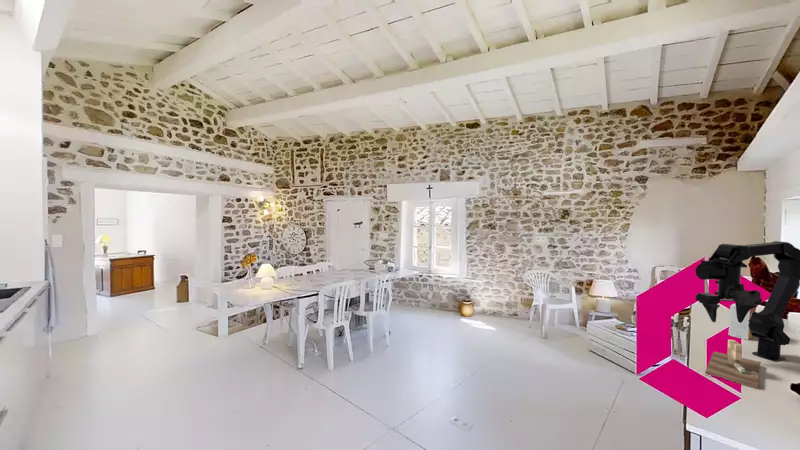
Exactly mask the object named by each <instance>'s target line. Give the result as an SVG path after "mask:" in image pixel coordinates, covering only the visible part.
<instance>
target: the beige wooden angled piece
mask: <svg viewBox="0 0 800 450" xmlns="http://www.w3.org/2000/svg"><path fill="white" fill-rule="evenodd" d="M726 354H727V355H728V366H731V367H734V368H737V369H738V370H739V371H741V372H745V369H744V368H743V367H742V366H740V361H741V359H742V358H743V357H742V355H743V345H742V344H741V343H739V342H738V341H736V339H735V340H734V339H727V353H726Z"/></svg>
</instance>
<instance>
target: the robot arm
mask: <svg viewBox="0 0 800 450" xmlns="http://www.w3.org/2000/svg"><path fill="white" fill-rule="evenodd" d="M769 255H770V256H771V255H773V258H774V259H775V260H777V261H778V264H777V269H778V271H779V276H778V278H777V280H776V282H775V285H774V287H772V288H773V289H772V291H771V293H770V295H769V297H768V299H767V301H766V303H765V305H764V308H762V310H761V311H759V312H756V311H755V312H753V313H752V316H751V318H750V319H749V320H748V321H749V325H748V327H749V328H750V331H751V334H752V336H753V337H755V338H758V339H757V351H754V352H751V354H752V355H754V356H757V357H761V358H764V359H766V360H770V361H773V362H777V361H782V360H786V357H785V356H781V349H782V348H781V347H782V346H786V345H789V344H790V341H791V337H790V336H788V335H787V334H786V333H785V331H784V330H785V323H784V319H783V315H784V313H785V311H786V309H787V307H788V305H789V303H790V301H791V299H792V297H793V295H794V293H795V291H796V289H797V286H798V284H799V282H800V249H799V248H797V247H795V246H794V245H793V244H792V243H790V242H788V241H777V240H775V241H771V242H761V243H752V244H733V243H731V244H729V243H721V244H719V245H718V247H717V248H716V250H714V252H713V253H712V254H711V256H710V257H709V258H708V260H700V263H698V264H697V266H696V268H695V271H694V272H695V275H696V277H697V278H698V279H700V280H703V281H704V280H706V281H707V280H709V281H710V280H712V281H713V280H715V281H714V284H717V291H714V294H712V293H709V292H698V293H696V295H695V301H697V302H698V303H699V304H702V306H703V307H704V309H705V311H706V313H707V314H708V316H709V318H710V321H711V322H713V323H716V322H717V315H718V314H717V313H718V309H719V308H720V307H721V304H720V302H734V304H735V305H736V313H737V319H738V322H740V323H742V322H743V320H744V318H745V316H746V315H747V313H748V312H749V310H750V309H752V308H754V307H756V308H757V307H759V306H762V305H763V304H762V303H763V302H762V301H763V299H762V297H761V292H760V291H759V290H747V289H745V285H744V284H743V283H741V273H742V272H741V271H742V268H747V267H748V265H747V264H746V263H744V261H747V260H750V258H752V257H758V256H759V257H761V256H769Z"/></svg>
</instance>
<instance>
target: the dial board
mask: <svg viewBox="0 0 800 450" xmlns="http://www.w3.org/2000/svg"><path fill="white" fill-rule="evenodd" d="M740 366H742V367H743V368H744V369H745V372H741V371H739V370H738V369H737V368H734V367H731V366H728V354H727V353H723V352H717V351H713V352H712V354H711V357H710V359H709V362H708V364H707V365H706V369H705V372H704V374H707V375H713V376H717V377H722V378H724V379H726V380H730V381H732V382H731V383H733V382H736V383H735V384H737V383H739V384H738V385H740V384H741V386H744V387H749V388H751V389H755V390H758V389H759V387H758V386H759V379H760V371H761V370H760V369H761V361H756V360H754V359H753V360H752V359H748V358H745V357H742V359H741V361H740ZM707 375H706V376H707Z"/></svg>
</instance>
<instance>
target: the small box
mask: <svg viewBox="0 0 800 450" xmlns="http://www.w3.org/2000/svg"><path fill="white" fill-rule="evenodd" d="M729 307H730V309H729V323H728V324H729V325H728V336H729V335H730V337H733V338H738V339H742V340H746V341H749V340H751V338H753V337H754V336H752V334H751V331H750V328H749V327H748V325H749V321H748V320H749V319H750V318H751V316H752V313H753V312H756V310H757V309H756V308H757V307H754V308H752V309H750V310H749V312H748V313H747V315H746V316H745V318H744V320H743V322H742V323H740V322H738V319H737V313H736V305H735V303H732V304H731V305H730V306H729Z"/></svg>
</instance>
